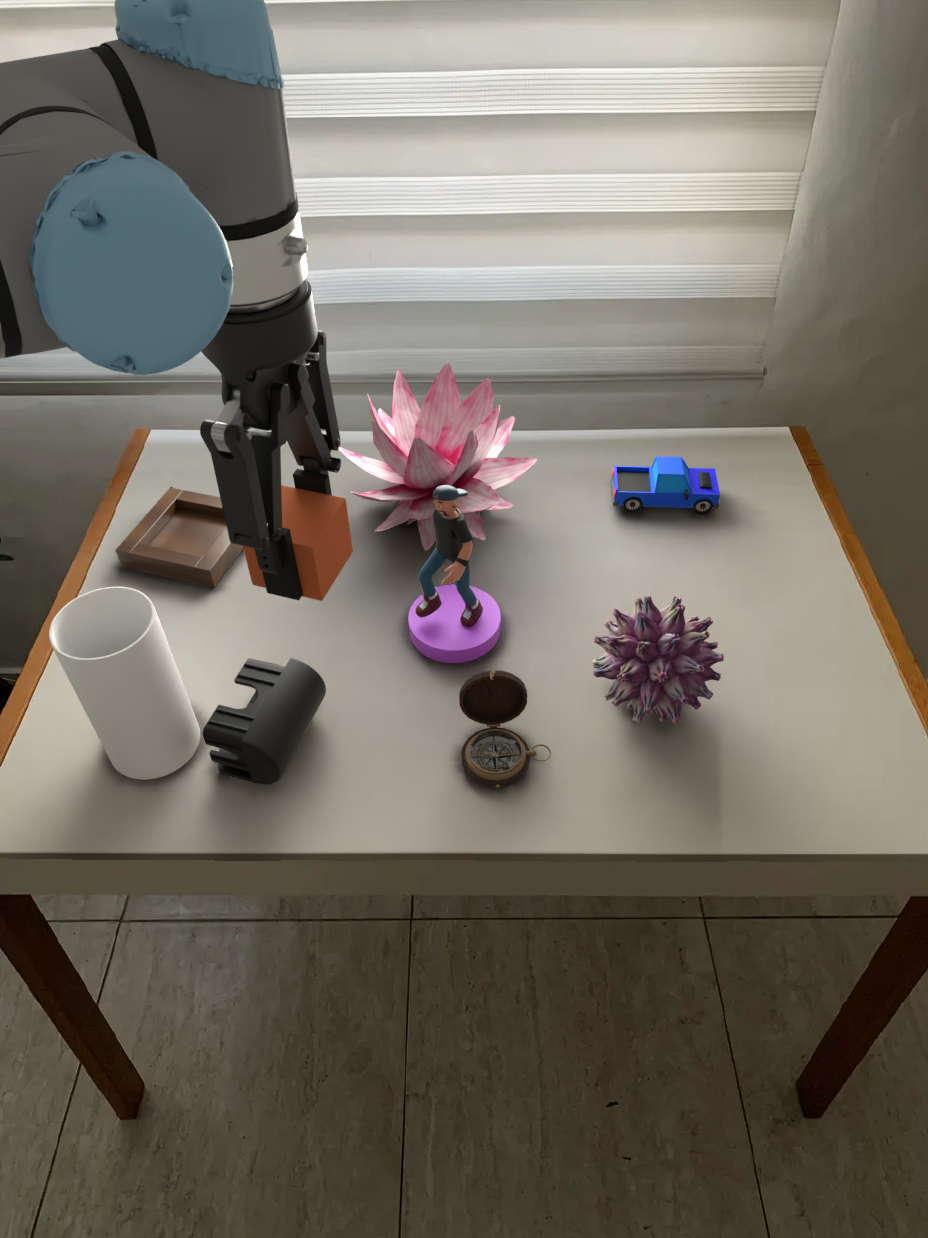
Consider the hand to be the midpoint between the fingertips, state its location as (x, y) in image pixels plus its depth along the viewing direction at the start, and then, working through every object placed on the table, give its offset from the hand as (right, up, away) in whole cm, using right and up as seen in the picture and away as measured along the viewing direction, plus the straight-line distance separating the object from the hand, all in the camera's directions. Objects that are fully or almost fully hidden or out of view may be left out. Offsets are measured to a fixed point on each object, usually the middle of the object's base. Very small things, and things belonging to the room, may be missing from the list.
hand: (304, 565), depth 72 cm
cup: (-16, -16, +12) cm, 25 cm away
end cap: (-5, -16, +12) cm, 20 cm away
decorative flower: (+10, +8, +35) cm, 37 cm away
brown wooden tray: (-18, +4, +31) cm, 36 cm away
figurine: (+12, -5, +21) cm, 25 cm away
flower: (+30, -12, +14) cm, 35 cm away
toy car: (+36, +10, +35) cm, 51 cm away
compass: (+16, -17, +10) cm, 25 cm away
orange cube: (0, 0, 0) cm, 0 cm away
